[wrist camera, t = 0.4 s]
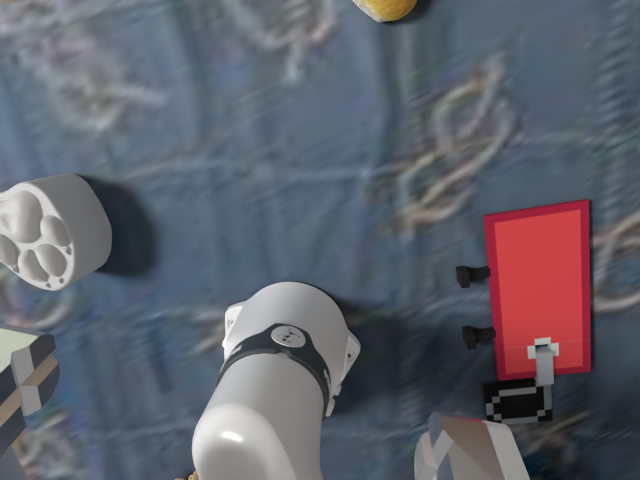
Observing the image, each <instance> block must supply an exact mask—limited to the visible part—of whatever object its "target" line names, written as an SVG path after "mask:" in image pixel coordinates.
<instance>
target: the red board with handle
mask: <svg viewBox="0 0 640 480" xmlns="http://www.w3.org/2000/svg"><path fill="white" fill-rule="evenodd" d="M484 226H485V239H486V251H487V264H488V266H485V267H481V268H477V269H473V270H470V271H467V270H466V268H465V267H464V266H459V267H456V272H457V281H458V282H459V284H460V286H461V287H462V288H468V287H470V281H473V280H477V279H480V278H484V277H488V276H489V289H490V301H491V313H492V325H493V327H490V328H486V329H482V330H479V331H475V332H473V331H472V329H471V327H470V326H465V327H462V330H463V339H464V341H465V343H466V346H467V348H468V350H471V349H476V342H479V341H483V340H487V339H490V338H494V348H495V360H496V372H497V378H498V380H499V381H503V380H512V379H522V378H532V377H534V379H535V381H529V382H520V383H510V384H500V385H491V386H484V392H485V402H486V413H487V421H490V422H495V423H500V424H505V425H509V424H520V423H532V422H543V421H552V400H551V384H554V375H560V374H570V373H580V372H589V371H591V341H590V251H589V200H587V199H584V200H577V201H571V202H564V203H558V204H551V205H545V206H538V207H532V208H526V209H519V210H513V211H506V212H500V213H493V214H487V215H484ZM543 344H548V346H544V347H535V345H543Z"/></svg>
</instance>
